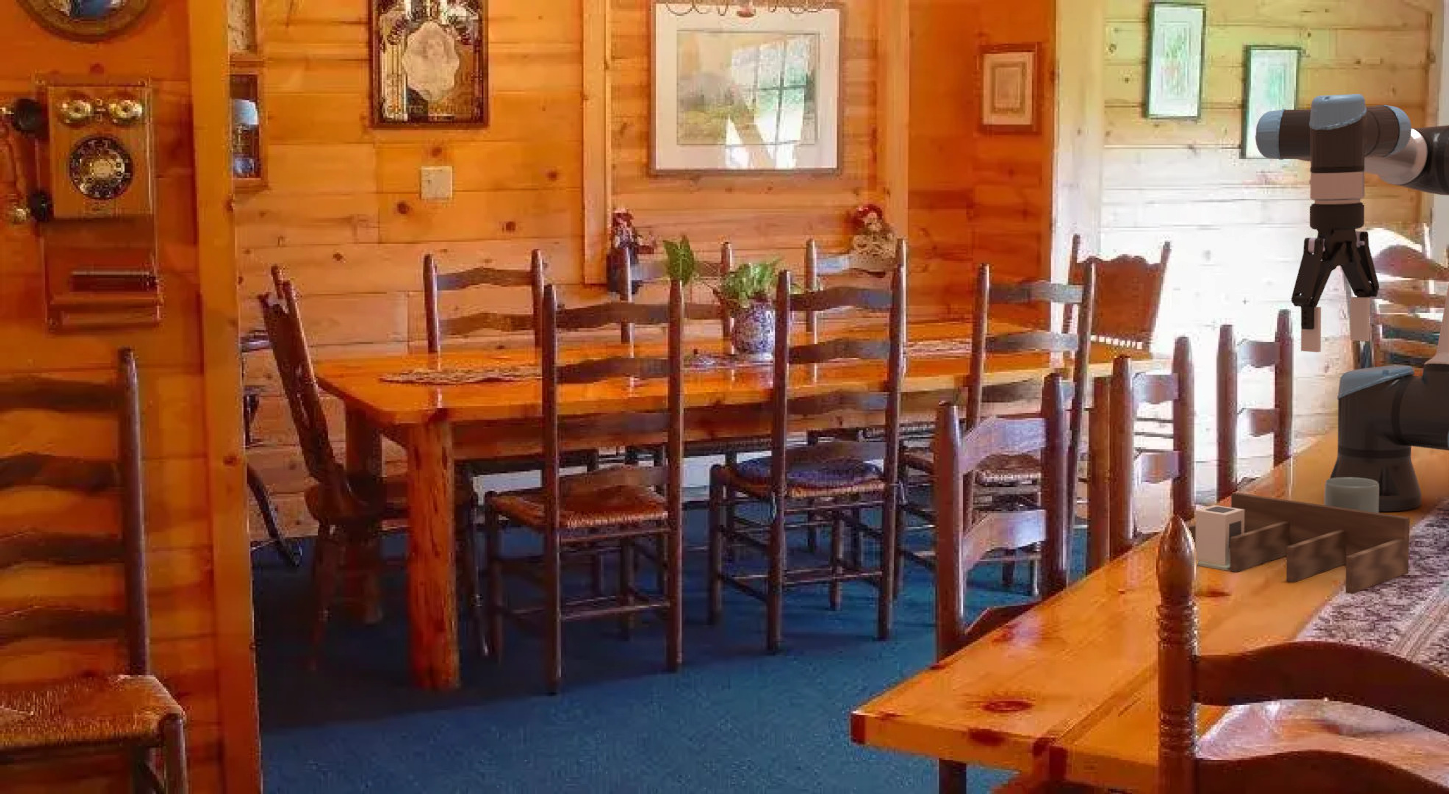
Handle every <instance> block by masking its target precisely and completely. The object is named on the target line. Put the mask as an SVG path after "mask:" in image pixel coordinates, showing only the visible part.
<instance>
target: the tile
mask: <svg viewBox="0 0 1449 794" xmlns="http://www.w3.org/2000/svg"><path fill="white" fill-rule="evenodd" d="M1197 566H1198V567H1199V566H1200V567H1206V568H1211V569H1215V570H1222V571H1230V564H1228V565H1219V564H1214V563H1208V562H1203V561H1198V565H1197Z"/></svg>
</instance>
